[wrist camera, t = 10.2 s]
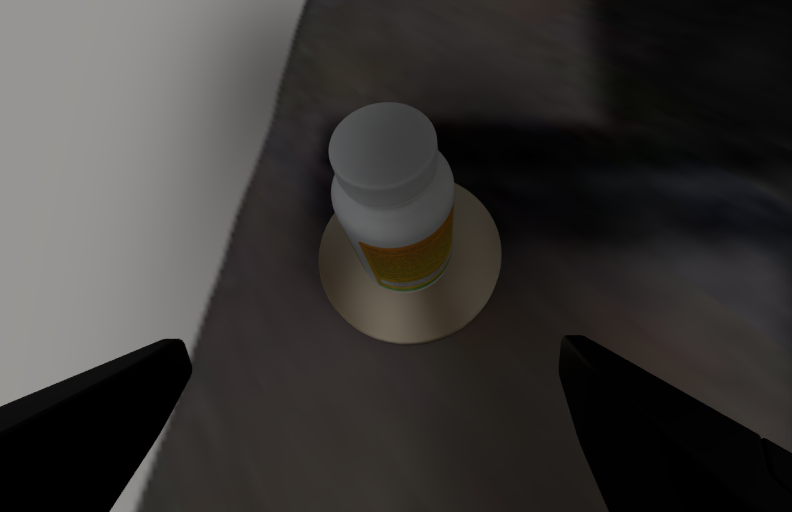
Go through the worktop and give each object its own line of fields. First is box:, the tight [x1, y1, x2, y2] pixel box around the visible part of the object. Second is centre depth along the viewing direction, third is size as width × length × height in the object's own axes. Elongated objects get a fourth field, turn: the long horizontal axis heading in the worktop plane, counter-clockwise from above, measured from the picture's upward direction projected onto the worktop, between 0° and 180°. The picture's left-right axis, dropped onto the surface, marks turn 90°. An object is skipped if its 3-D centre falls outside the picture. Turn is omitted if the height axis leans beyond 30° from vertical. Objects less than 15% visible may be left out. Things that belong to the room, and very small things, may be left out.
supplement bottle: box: [329, 102, 455, 293], centre depth 18 cm, size 5×5×10 cm
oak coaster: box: [319, 183, 502, 345], centre depth 23 cm, size 11×11×1 cm
